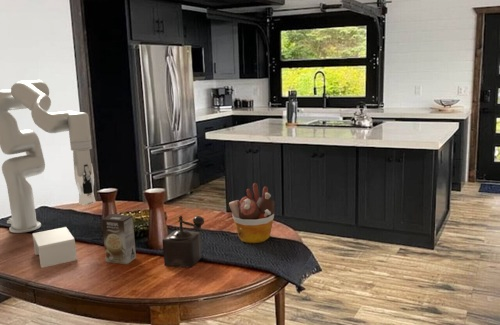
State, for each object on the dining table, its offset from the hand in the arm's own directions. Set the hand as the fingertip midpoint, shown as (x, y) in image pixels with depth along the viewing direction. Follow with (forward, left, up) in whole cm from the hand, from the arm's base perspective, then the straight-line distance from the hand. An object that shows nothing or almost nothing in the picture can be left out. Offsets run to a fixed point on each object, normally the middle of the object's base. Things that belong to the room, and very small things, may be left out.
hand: (85, 190), depth 188 cm
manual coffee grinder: (+46, -8, -22) cm, 52 cm away
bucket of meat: (+61, +19, -22) cm, 68 cm away
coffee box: (+21, -12, -22) cm, 32 cm away
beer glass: (0, 0, -5) cm, 5 cm away
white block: (-5, -15, -21) cm, 27 cm away
